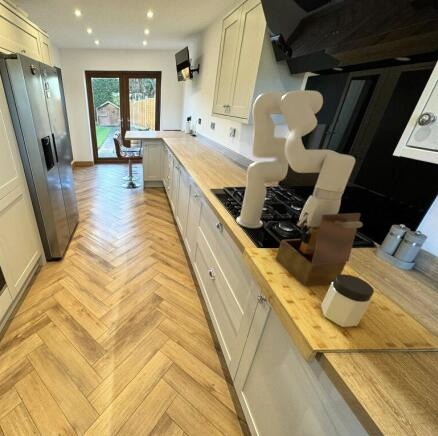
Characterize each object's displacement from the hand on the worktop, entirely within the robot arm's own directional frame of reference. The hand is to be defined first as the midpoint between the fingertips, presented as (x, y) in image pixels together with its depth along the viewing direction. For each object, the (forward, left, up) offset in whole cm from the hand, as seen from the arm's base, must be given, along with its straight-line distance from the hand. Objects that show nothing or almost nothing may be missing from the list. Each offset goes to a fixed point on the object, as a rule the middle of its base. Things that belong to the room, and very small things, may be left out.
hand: (309, 241), depth 84 cm
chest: (+2, +1, -11) cm, 12 cm away
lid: (+8, +3, +6) cm, 10 cm away
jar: (+23, +3, -12) cm, 26 cm away
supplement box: (0, 0, -5) cm, 5 cm away
